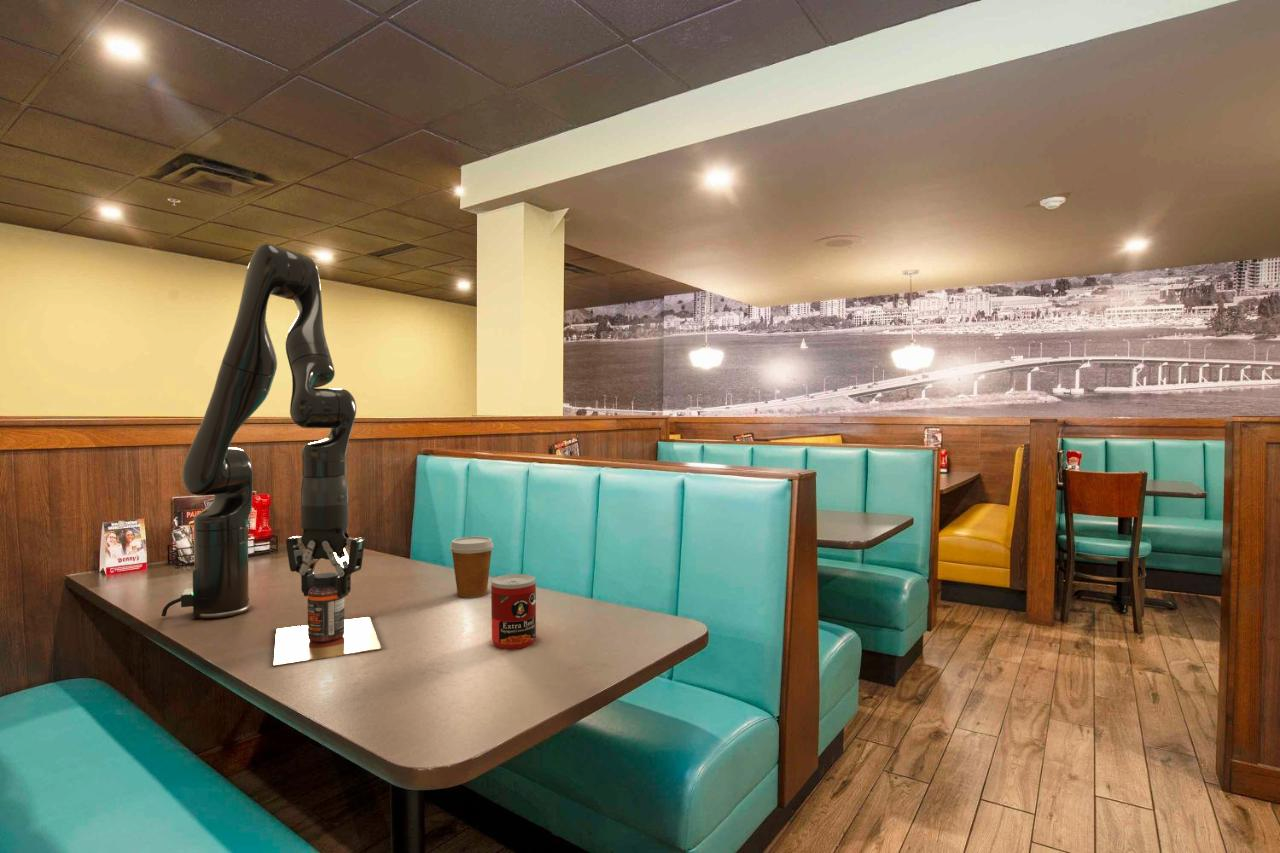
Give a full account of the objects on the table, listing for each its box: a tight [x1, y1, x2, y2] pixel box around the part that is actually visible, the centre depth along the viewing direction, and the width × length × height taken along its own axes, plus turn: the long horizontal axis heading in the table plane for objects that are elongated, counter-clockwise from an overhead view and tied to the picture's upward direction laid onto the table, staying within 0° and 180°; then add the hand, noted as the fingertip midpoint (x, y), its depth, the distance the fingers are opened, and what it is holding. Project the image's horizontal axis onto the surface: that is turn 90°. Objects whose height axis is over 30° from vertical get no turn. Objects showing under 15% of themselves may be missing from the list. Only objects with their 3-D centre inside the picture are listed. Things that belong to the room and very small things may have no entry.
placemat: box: [273, 616, 382, 667], centre depth 118 cm, size 16×20×1 cm
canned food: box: [490, 573, 537, 650], centre depth 116 cm, size 8×8×11 cm
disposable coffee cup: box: [449, 536, 495, 599], centre depth 147 cm, size 10×10×12 cm
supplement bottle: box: [307, 571, 346, 643], centre depth 118 cm, size 6×6×11 cm
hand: (326, 595), depth 118 cm, fingers closed on supplement bottle, 6 cm apart
